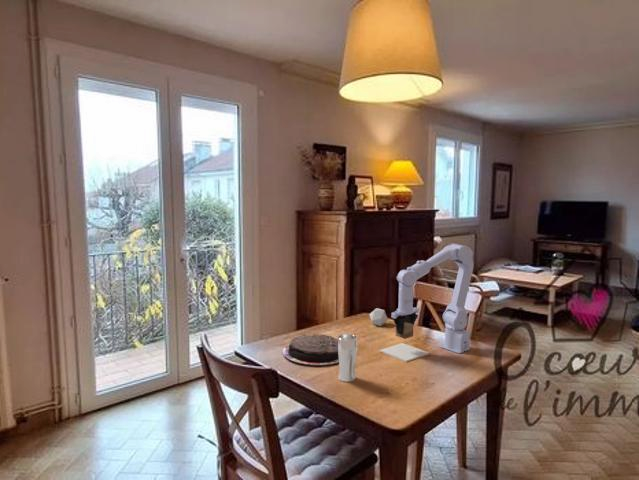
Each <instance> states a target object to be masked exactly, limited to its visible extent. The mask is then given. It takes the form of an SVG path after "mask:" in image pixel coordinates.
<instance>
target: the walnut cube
mask: <svg viewBox="0 0 639 480" xmlns="http://www.w3.org/2000/svg"><path fill="white" fill-rule="evenodd" d="M395 336H396V337H399V338H401V339H404V340H406V339H409V338H411V337H412V338H413V337H414V325H413V324H410V323H407V322H406V321H405V323H404V328H403V334H402V335H401V334H398V332H397V328H396V327H395Z"/></svg>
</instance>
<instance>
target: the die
mask: <svg viewBox="0 0 639 480" xmlns="http://www.w3.org/2000/svg"><path fill="white" fill-rule="evenodd" d="M369 318H370V321H371V323H372V325H375V326H378V327H381V326H383V325H384V324H385V323H386V322H387V321H388V319H389V318H388V316H387V314H386V311H385V309H381V308H379V307H376V308H374V310H373V311H371V312H370V313H369Z"/></svg>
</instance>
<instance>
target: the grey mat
mask: <svg viewBox="0 0 639 480" xmlns="http://www.w3.org/2000/svg"><path fill="white" fill-rule="evenodd" d="M379 352H380V353H383V354H386V355H388V356H389V357H393V358H395V359H398V360H400V361H402V362H404V363H407V362H410V361H412V360H416V359H419V358H422V357H424V356H427V355H429V354H430V353H429V351H425V350H423V349H420V348H418V347H416V346H412V345H409V344H406V343H404V342H401V343H397V344H394V345H391V346H388V347H385V348H382V349H379Z"/></svg>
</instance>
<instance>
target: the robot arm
mask: <svg viewBox="0 0 639 480" xmlns="http://www.w3.org/2000/svg"><path fill="white" fill-rule="evenodd" d="M473 255H474V251H473V250H472V249H471V248H470V247H469V246H468V245H463V244H457V243H452V242H451V243H449V244H448V245H447V246H444V247H443V249H441V250H440V251H439V252H437V253H436V254H434V255H432V256H431V257H429V258H428V259H426V260H424V259H423V260H422V259H421V260H417V261H416V263H415V264H413V265H411V266H408V267H406V269H401V270H400V271H399V272H398V273H397V276H396V280H397V282H398V306H397V307H398V308H396V310H395V311H393V312H391V318H392V320H393V323H394V325H395V329H396V328H397V332H398V334H401V335H402V334H403V328H404V323H405V322H407V323H410V324H413V326H414V325H415V323H416V320H417V319H418V318H419V317H418V316H419V315H418V314H419V312H420V309H419V307H414V305H413V304H414V285H415V284H416V283H417V280H419V279H421V278H422V277H424V276H425V275H427V274H429V273H430V271H431V268H433V267H435V266H437V265H439V264H441V263H443V262H445V261H446V260H451V261H454V262H455V264H456V266H457V267H458V271H457V275H456V279H455V285H454V289H453V293H452V297H451V301H450V303H449V304H447V306H446V308H445V311H444V312H443V314H442V321H443V322H444V326H445V330H444V343H443V344H442V345H440V346H439V347H440V348H442V349H445V350H447V351H451V352H453V353H456V354H462V353H465V352H466V351H467V352H468V351H469V350H471V348H470V337H471V335H470V332H469V331H467V330H466V329H465V328H466V327H467V325H468V312H467V310H466V307H465V306H466V300H467V295H468V293H469V287H470V284H471V280H472V275H473V271H474V270H473V269H474V267H475V266H474V259H473V257H474V256H473ZM403 316H404V317H403ZM464 351H465V352H464Z"/></svg>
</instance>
